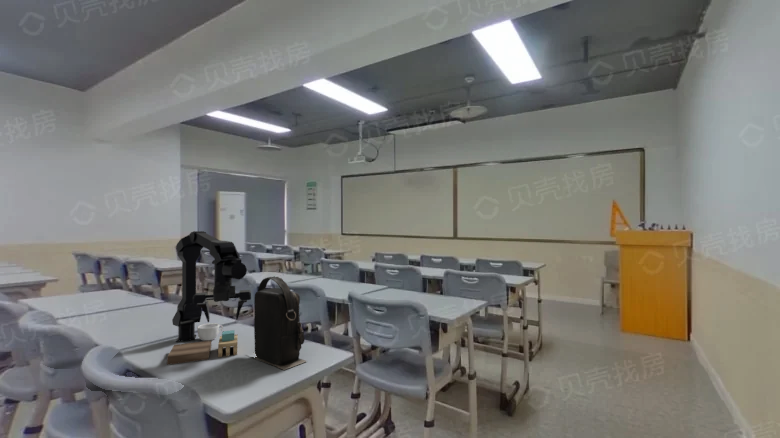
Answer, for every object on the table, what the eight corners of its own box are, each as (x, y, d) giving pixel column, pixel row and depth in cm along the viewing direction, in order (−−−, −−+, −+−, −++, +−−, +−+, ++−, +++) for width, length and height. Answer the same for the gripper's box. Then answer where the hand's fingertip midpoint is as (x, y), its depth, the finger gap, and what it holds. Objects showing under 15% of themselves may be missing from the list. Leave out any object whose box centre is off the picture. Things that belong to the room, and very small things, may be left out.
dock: (174, 351, 129) (174, 344, 129) (211, 347, 134) (211, 340, 134) (167, 364, 117) (167, 356, 117) (208, 359, 122) (208, 351, 122)
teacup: (203, 343, 138) (204, 329, 138) (193, 340, 142) (193, 326, 142) (228, 337, 146) (228, 323, 147) (217, 333, 151) (217, 321, 151)
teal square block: (222, 338, 131) (222, 331, 131) (234, 337, 132) (234, 330, 132) (221, 341, 127) (222, 334, 127) (234, 340, 128) (234, 333, 129)
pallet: (219, 348, 133) (220, 336, 133) (237, 346, 135) (237, 334, 135) (218, 357, 124) (218, 344, 124) (237, 355, 126) (237, 342, 126)
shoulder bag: (244, 355, 125) (244, 275, 126) (267, 348, 133) (267, 272, 133) (284, 370, 112) (284, 280, 112) (307, 362, 119) (307, 277, 120)
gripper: (189, 281, 118) (189, 329, 117) (250, 278, 124) (250, 323, 124) (195, 277, 128) (194, 321, 128) (251, 274, 135) (250, 316, 134)
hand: (222, 320), depth 128 cm, fingers open, 9 cm apart
